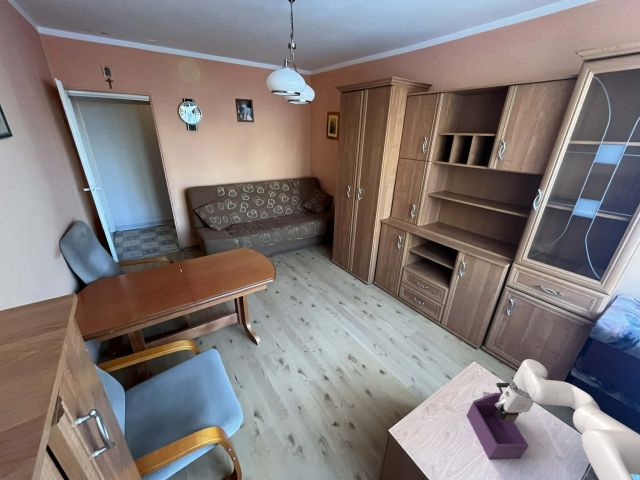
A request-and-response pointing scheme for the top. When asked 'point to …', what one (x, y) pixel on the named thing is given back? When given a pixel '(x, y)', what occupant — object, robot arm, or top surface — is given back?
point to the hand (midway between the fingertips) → (506, 415)
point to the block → (510, 416)
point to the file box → (496, 432)
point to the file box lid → (493, 395)
